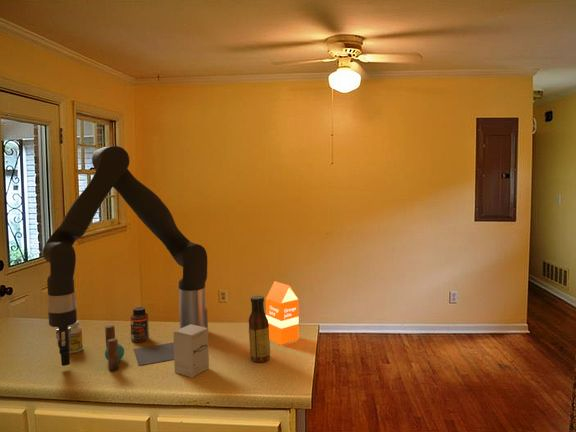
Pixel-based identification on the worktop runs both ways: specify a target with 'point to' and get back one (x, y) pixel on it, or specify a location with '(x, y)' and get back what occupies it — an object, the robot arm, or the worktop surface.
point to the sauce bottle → (259, 331)
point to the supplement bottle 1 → (76, 338)
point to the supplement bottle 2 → (139, 325)
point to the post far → (109, 333)
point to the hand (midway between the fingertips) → (65, 364)
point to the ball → (120, 352)
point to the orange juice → (282, 313)
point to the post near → (113, 355)
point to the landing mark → (154, 354)
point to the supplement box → (191, 350)
